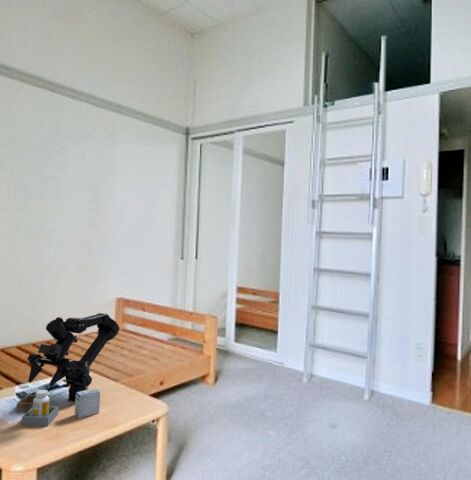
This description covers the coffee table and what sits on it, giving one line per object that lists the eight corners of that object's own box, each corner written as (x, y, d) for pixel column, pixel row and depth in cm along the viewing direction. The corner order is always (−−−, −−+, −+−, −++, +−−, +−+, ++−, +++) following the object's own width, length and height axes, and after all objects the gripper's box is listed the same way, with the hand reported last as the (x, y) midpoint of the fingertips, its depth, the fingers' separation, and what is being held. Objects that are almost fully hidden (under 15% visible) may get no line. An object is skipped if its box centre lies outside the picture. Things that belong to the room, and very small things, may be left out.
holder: (48, 402, 165) (49, 395, 165) (39, 411, 156) (39, 403, 156) (27, 401, 164) (27, 394, 164) (16, 411, 156) (16, 403, 156)
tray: (58, 414, 154) (58, 406, 154) (47, 425, 145) (48, 417, 145) (33, 414, 154) (33, 406, 154) (21, 425, 145) (21, 416, 145)
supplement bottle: (49, 414, 153) (50, 388, 153) (47, 420, 148) (49, 393, 148) (33, 415, 151) (34, 389, 151) (31, 421, 146) (32, 394, 146)
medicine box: (94, 409, 161) (95, 387, 161) (99, 413, 157) (100, 390, 157) (74, 414, 155) (75, 392, 155) (79, 419, 152) (80, 395, 152)
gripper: (31, 332, 156) (6, 369, 146) (73, 337, 151) (50, 376, 140) (46, 347, 164) (23, 384, 153) (85, 353, 158) (64, 391, 148)
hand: (39, 384), depth 148 cm, fingers open, 9 cm apart
